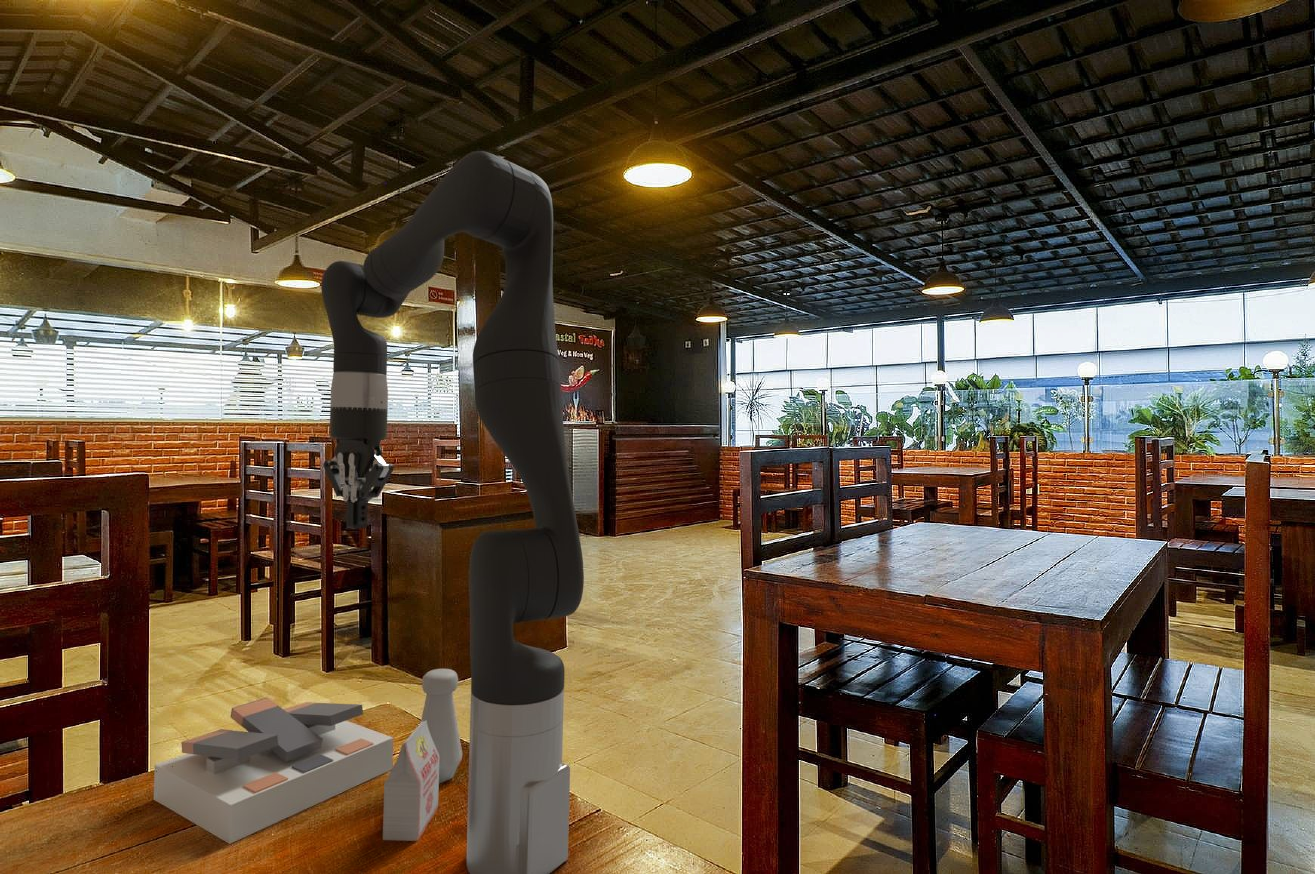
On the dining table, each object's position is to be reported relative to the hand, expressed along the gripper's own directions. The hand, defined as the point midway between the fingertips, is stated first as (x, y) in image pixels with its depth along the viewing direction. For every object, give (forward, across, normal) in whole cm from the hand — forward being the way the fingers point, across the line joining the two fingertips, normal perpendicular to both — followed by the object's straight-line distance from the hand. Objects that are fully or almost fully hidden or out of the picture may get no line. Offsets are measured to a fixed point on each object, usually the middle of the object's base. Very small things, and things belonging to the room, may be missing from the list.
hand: (356, 528), depth 101 cm
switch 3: (+22, -5, +8) cm, 25 cm away
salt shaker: (+29, -20, +2) cm, 35 cm away
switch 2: (+22, -5, +14) cm, 27 cm away
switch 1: (+22, -5, +20) cm, 30 cm away
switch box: (+29, -6, +14) cm, 33 cm away
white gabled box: (+29, -26, +11) cm, 41 cm away
